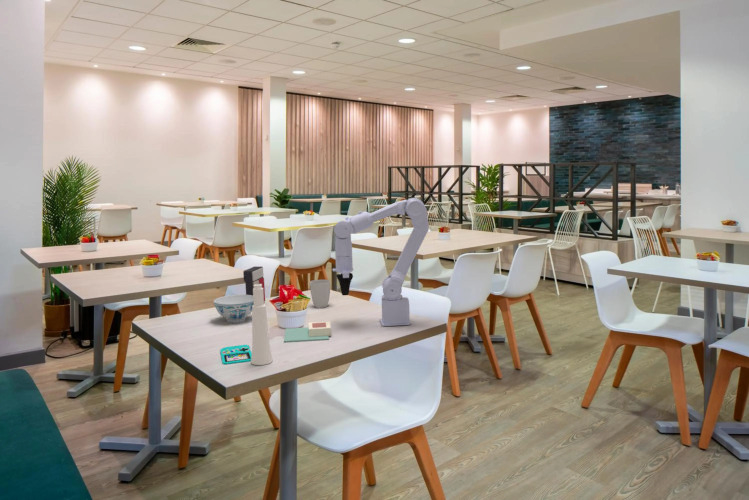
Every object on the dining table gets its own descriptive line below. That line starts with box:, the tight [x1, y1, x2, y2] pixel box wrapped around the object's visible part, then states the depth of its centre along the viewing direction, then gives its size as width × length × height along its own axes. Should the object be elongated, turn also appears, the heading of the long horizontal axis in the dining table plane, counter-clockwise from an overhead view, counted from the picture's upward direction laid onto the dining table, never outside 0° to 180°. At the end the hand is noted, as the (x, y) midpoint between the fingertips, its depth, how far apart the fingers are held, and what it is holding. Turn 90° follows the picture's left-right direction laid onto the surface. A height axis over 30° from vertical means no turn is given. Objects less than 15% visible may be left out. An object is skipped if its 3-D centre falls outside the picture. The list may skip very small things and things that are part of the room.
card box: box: [308, 320, 332, 337], centre depth 177 cm, size 3×8×7 cm
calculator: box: [243, 266, 266, 303], centre depth 219 cm, size 11×4×15 cm, turn 168°
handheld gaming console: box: [220, 344, 252, 366], centre depth 158 cm, size 8×1×15 cm
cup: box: [309, 279, 331, 309], centre depth 214 cm, size 8×8×10 cm
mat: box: [283, 326, 330, 343], centre depth 177 cm, size 14×14×1 cm
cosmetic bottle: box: [250, 284, 274, 366], centre depth 150 cm, size 6×6×22 cm
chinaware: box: [213, 294, 254, 323], centre depth 197 cm, size 15×15×8 cm
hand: (345, 294), depth 187 cm, fingers closed
